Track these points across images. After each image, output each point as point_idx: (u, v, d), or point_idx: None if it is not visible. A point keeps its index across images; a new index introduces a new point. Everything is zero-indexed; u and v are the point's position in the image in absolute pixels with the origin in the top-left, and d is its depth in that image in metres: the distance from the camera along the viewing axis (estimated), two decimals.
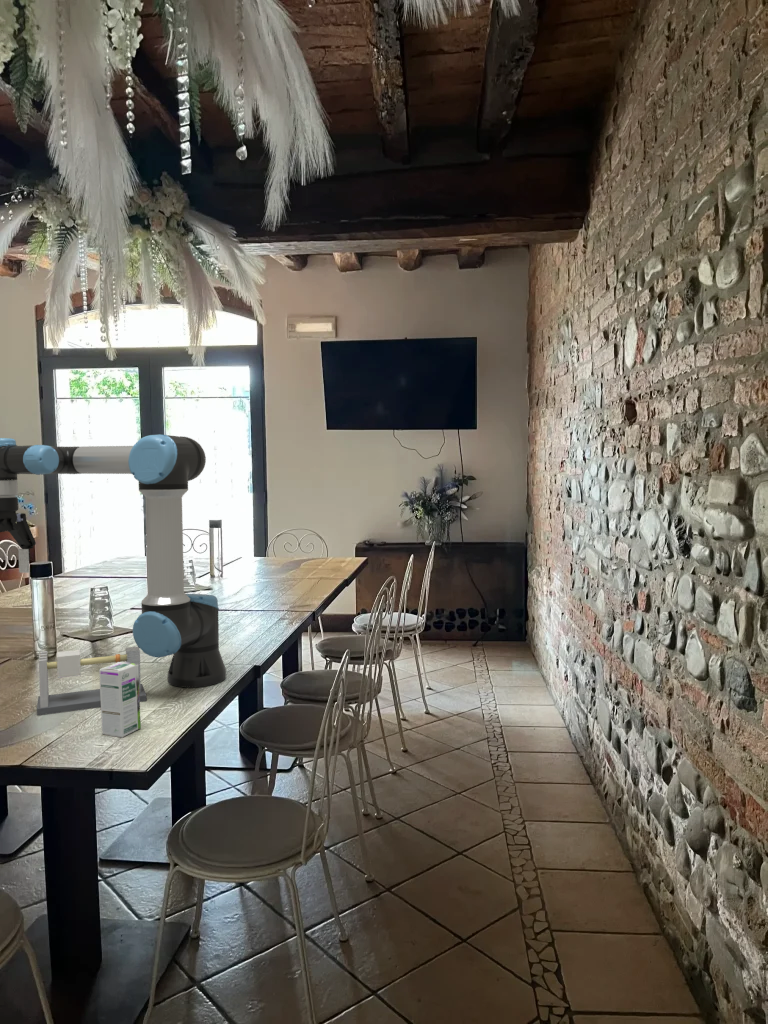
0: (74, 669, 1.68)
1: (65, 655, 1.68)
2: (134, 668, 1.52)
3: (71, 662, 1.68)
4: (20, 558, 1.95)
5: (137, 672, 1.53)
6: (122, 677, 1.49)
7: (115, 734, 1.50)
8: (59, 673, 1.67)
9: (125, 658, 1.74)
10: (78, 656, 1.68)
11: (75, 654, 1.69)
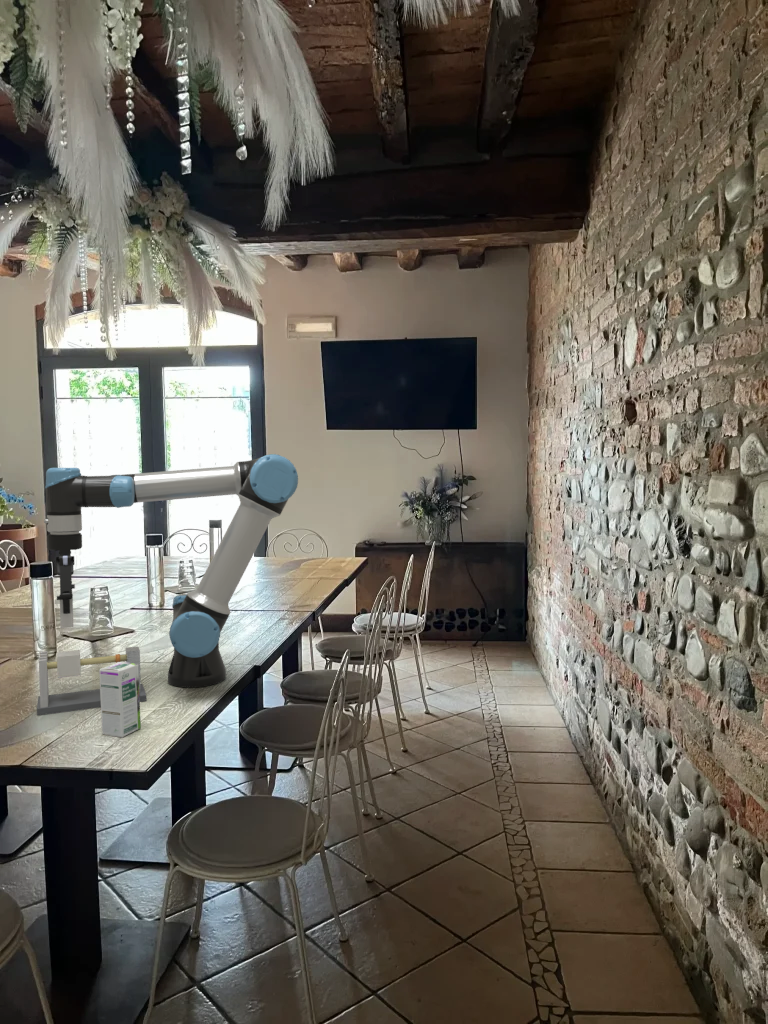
0: (74, 669, 1.68)
1: (65, 655, 1.68)
2: (134, 668, 1.52)
3: (71, 662, 1.68)
4: None
5: (137, 672, 1.53)
6: (122, 677, 1.49)
7: (115, 734, 1.50)
8: (59, 673, 1.67)
9: (125, 658, 1.74)
10: (78, 656, 1.68)
11: (75, 654, 1.69)
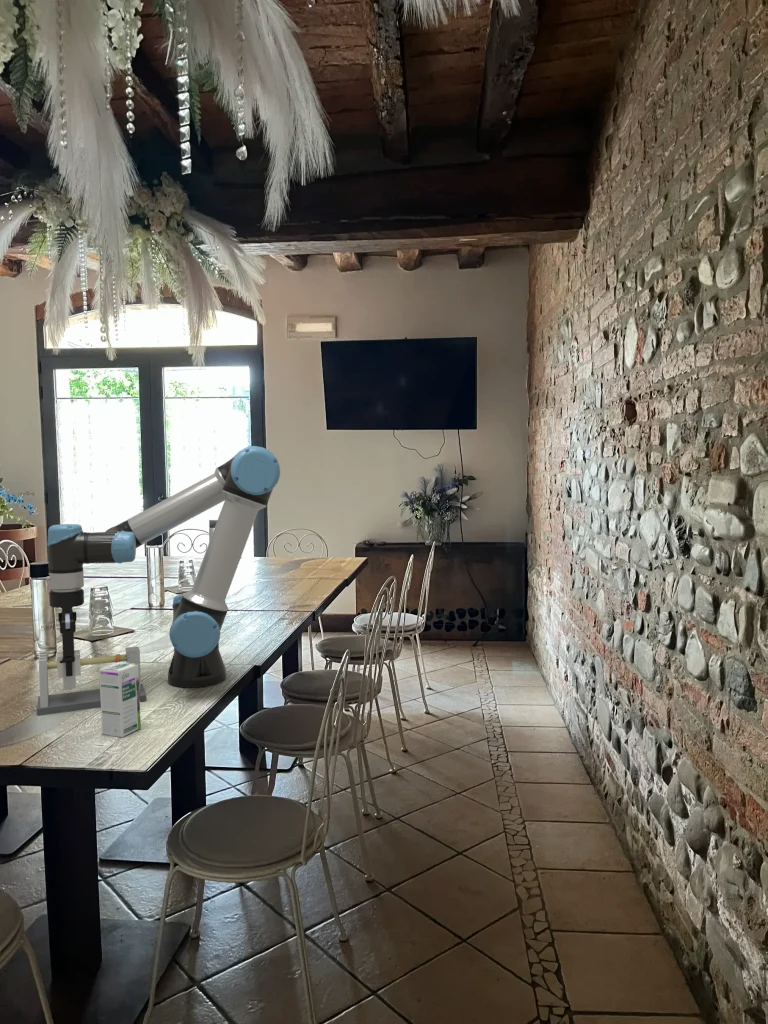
0: None
1: None
2: (134, 668, 1.52)
3: None
4: None
5: (137, 672, 1.53)
6: (122, 677, 1.49)
7: (115, 734, 1.50)
8: (59, 673, 1.67)
9: (125, 658, 1.74)
10: (78, 656, 1.68)
11: (75, 654, 1.69)
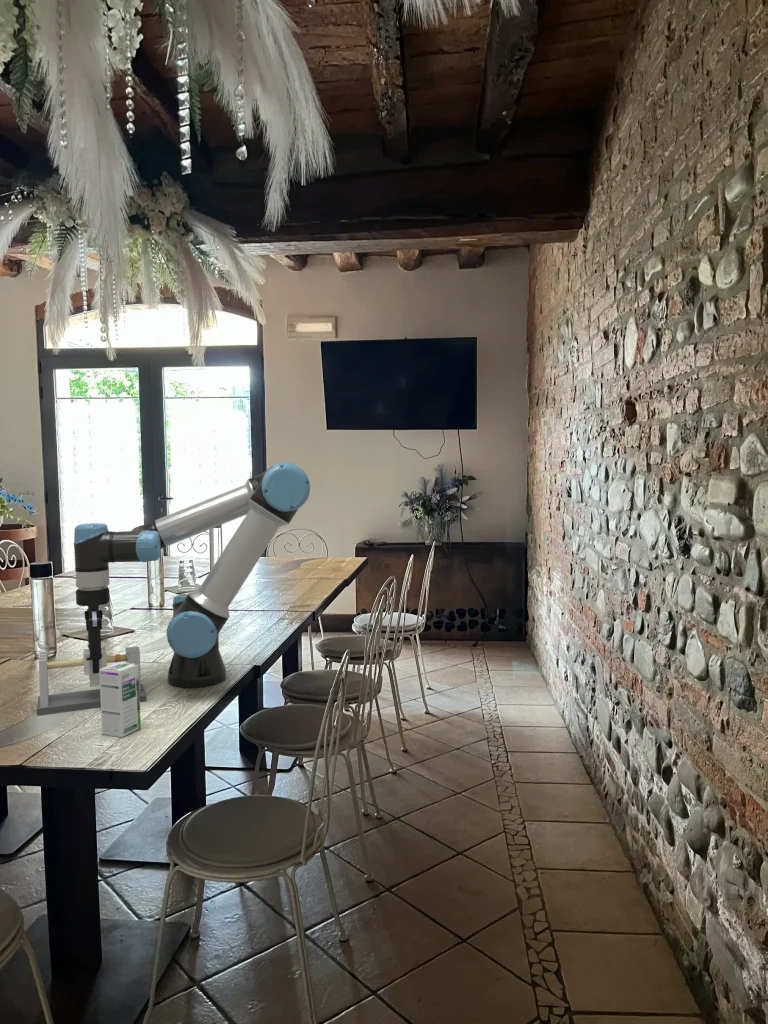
0: None
1: None
2: (134, 668, 1.52)
3: None
4: None
5: (137, 672, 1.53)
6: (122, 677, 1.49)
7: (115, 734, 1.50)
8: (86, 670, 1.69)
9: (125, 658, 1.74)
10: (104, 653, 1.71)
11: (101, 651, 1.71)
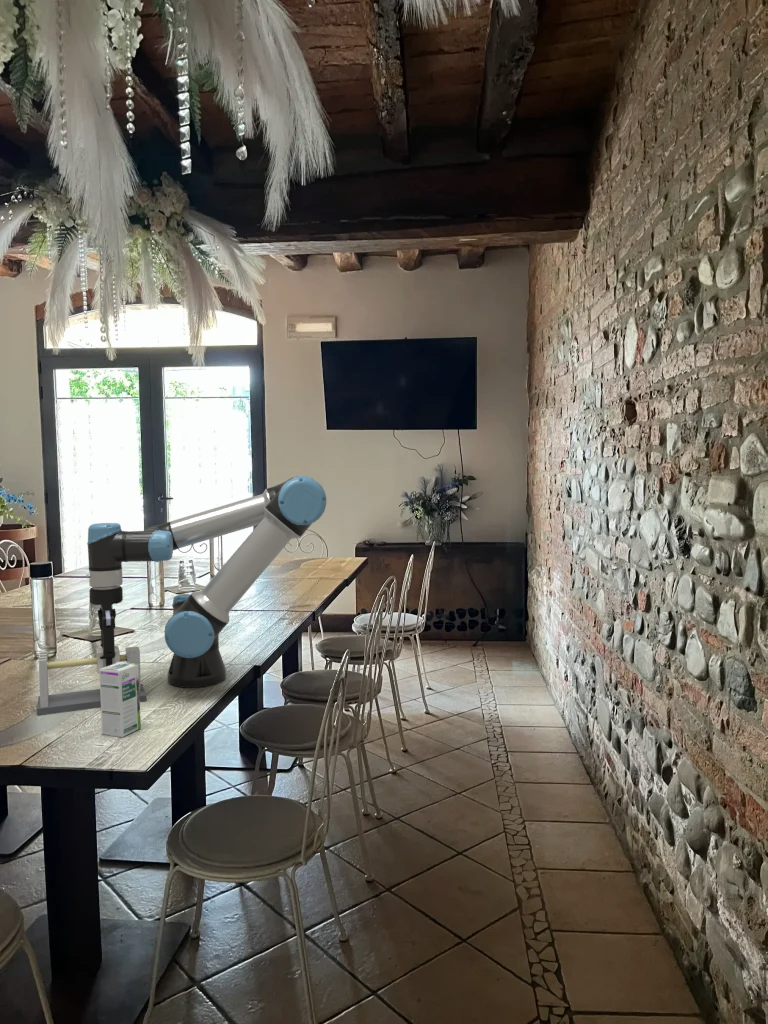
0: None
1: None
2: (134, 668, 1.52)
3: None
4: None
5: (137, 672, 1.53)
6: (122, 677, 1.49)
7: (115, 734, 1.50)
8: None
9: (125, 658, 1.74)
10: (117, 652, 1.72)
11: None
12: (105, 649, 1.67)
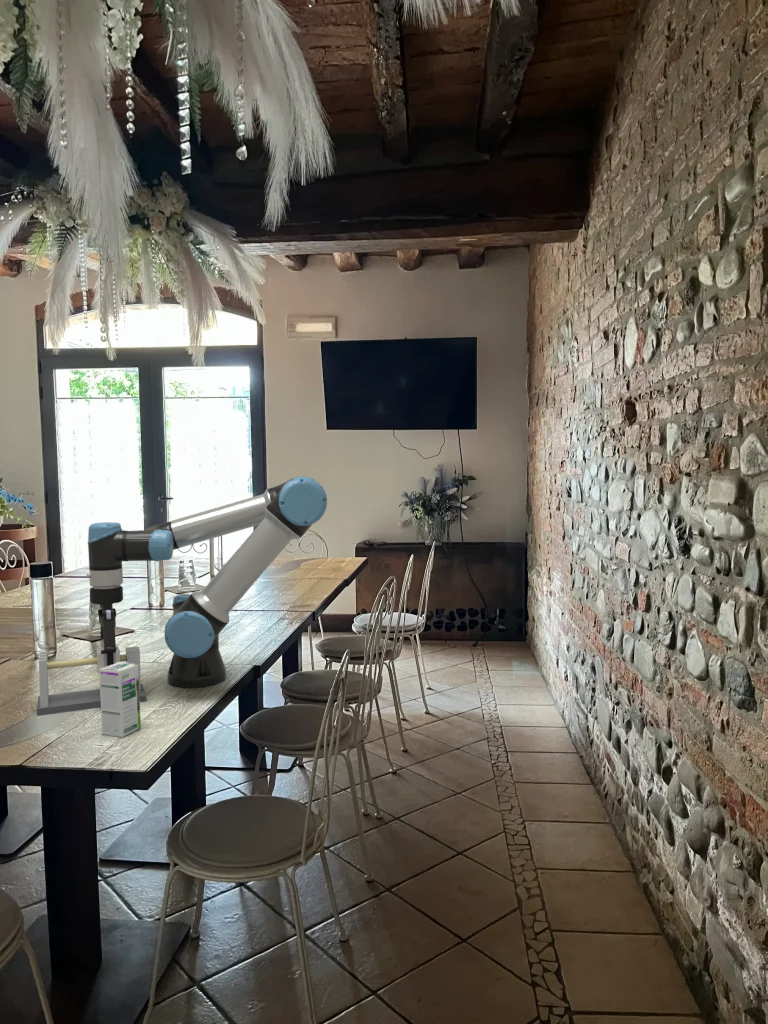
0: None
1: None
2: (134, 668, 1.52)
3: None
4: None
5: (137, 672, 1.53)
6: (122, 677, 1.49)
7: (115, 734, 1.50)
8: None
9: (125, 658, 1.74)
10: (118, 652, 1.72)
11: None
12: (106, 642, 1.64)
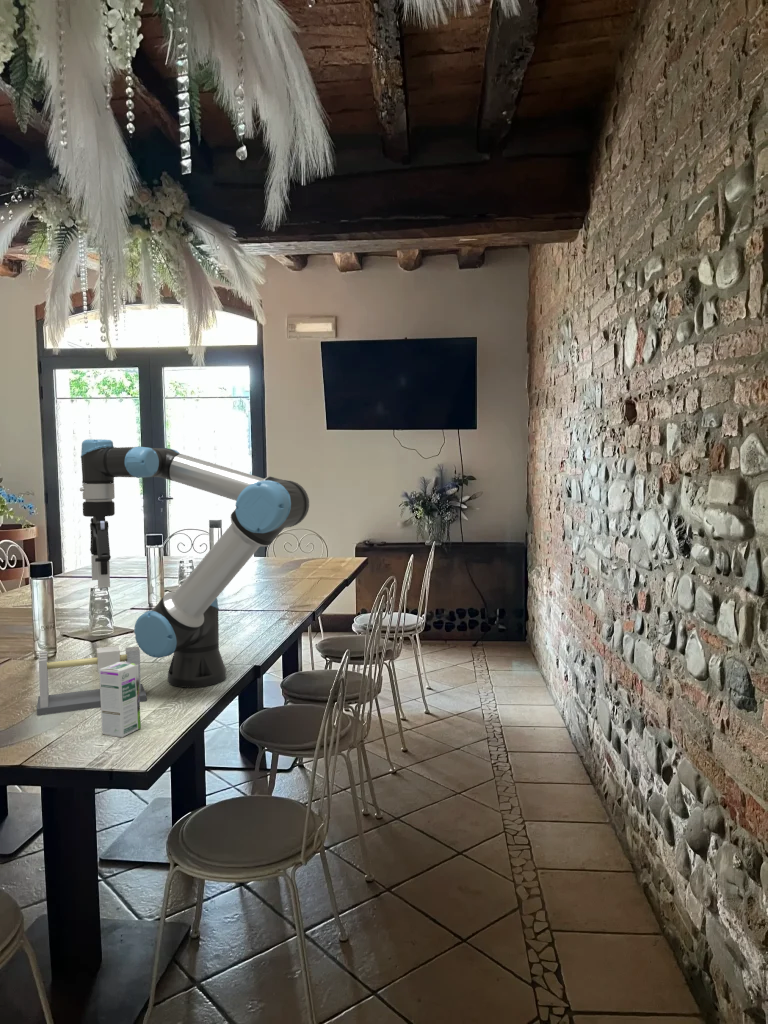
0: None
1: (105, 651, 1.71)
2: (134, 668, 1.52)
3: (111, 658, 1.71)
4: (94, 565, 1.86)
5: (137, 672, 1.53)
6: (122, 677, 1.49)
7: (115, 734, 1.50)
8: None
9: (125, 658, 1.74)
10: (118, 652, 1.72)
11: (115, 650, 1.72)
12: (100, 550, 1.72)
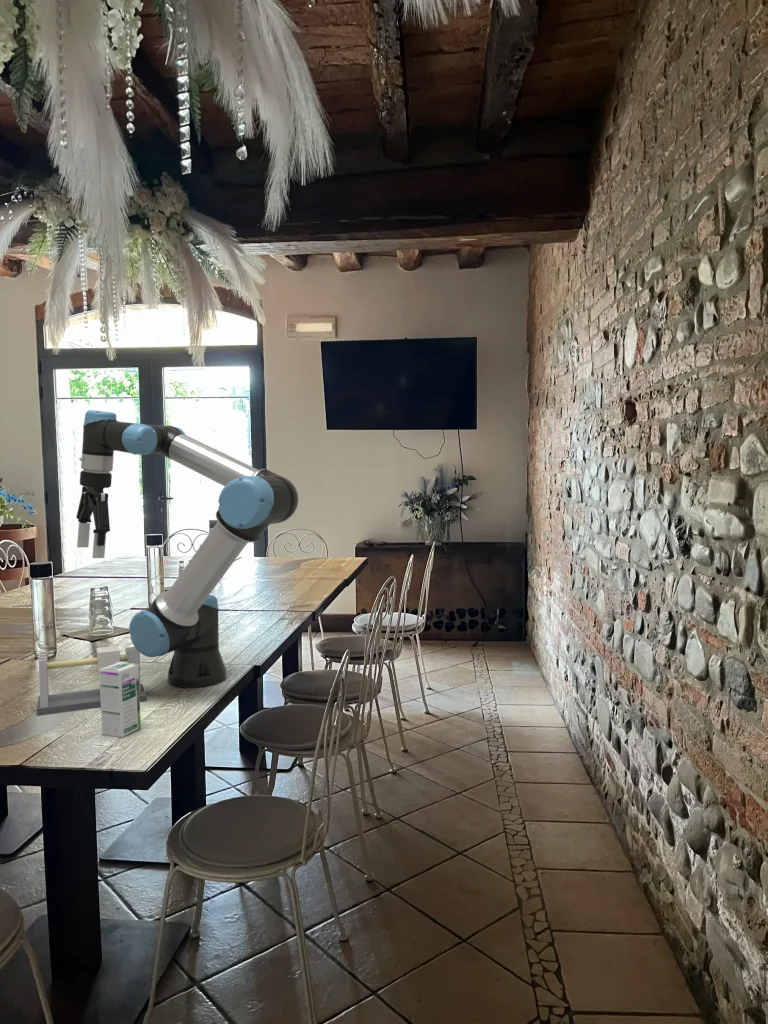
0: None
1: (105, 651, 1.71)
2: (134, 668, 1.52)
3: (111, 658, 1.71)
4: (81, 533, 1.88)
5: (137, 672, 1.53)
6: (122, 677, 1.49)
7: (115, 734, 1.50)
8: None
9: (125, 658, 1.74)
10: (118, 652, 1.72)
11: (115, 650, 1.72)
12: (101, 522, 1.75)
